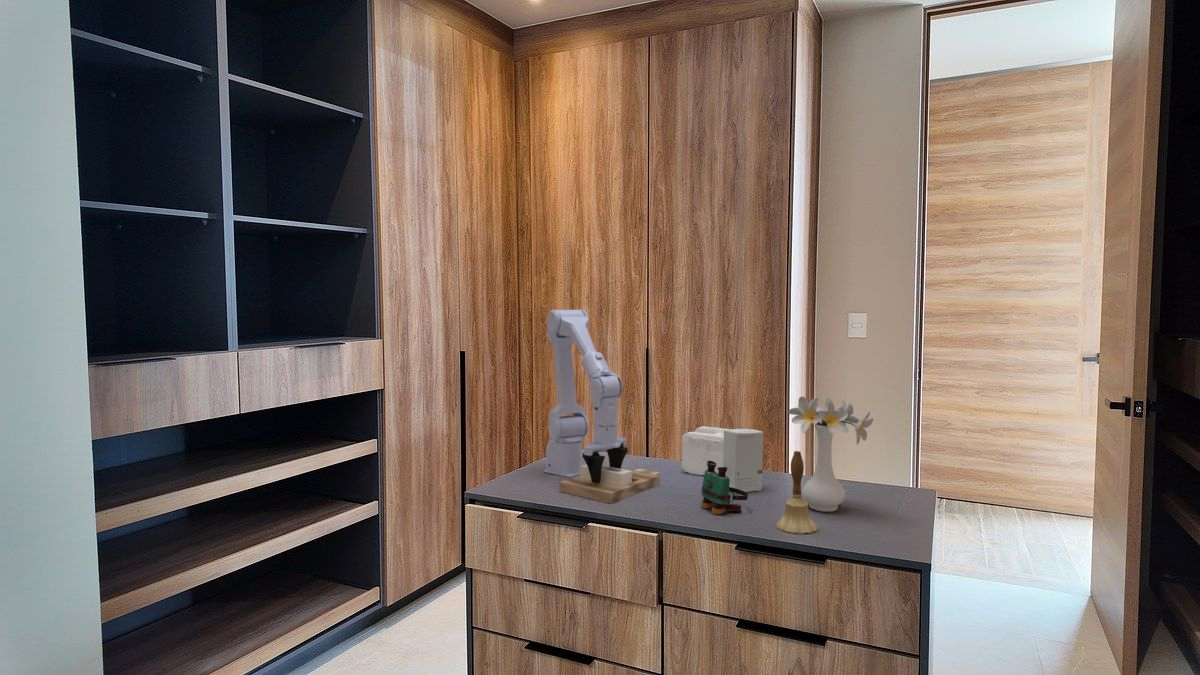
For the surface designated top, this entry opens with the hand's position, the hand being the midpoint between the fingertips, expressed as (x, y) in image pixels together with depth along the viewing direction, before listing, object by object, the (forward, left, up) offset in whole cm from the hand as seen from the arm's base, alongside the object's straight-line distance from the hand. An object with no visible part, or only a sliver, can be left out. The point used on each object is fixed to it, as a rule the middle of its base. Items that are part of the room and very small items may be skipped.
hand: (605, 479), depth 174 cm
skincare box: (+26, +22, -3) cm, 34 cm away
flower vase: (+48, +20, -3) cm, 52 cm away
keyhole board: (0, +2, -3) cm, 3 cm away
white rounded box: (+13, +31, -3) cm, 34 cm away
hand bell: (+48, +3, -3) cm, 48 cm away
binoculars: (+30, +5, -3) cm, 31 cm away
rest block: (+2, +15, -3) cm, 15 cm away
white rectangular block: (0, 0, -2) cm, 2 cm away
